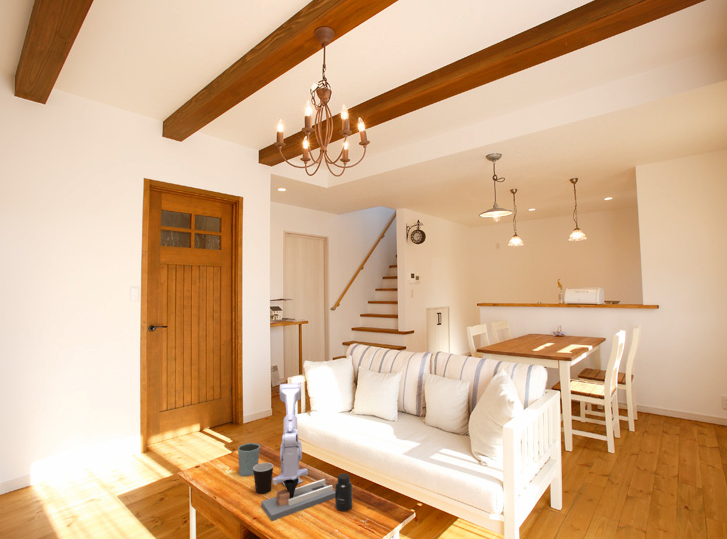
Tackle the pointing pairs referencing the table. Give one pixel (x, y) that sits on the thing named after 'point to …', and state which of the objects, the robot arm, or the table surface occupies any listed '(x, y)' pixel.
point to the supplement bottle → (343, 493)
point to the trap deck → (280, 511)
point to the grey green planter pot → (248, 458)
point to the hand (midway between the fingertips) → (290, 497)
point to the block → (282, 497)
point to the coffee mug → (263, 477)
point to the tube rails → (310, 494)
